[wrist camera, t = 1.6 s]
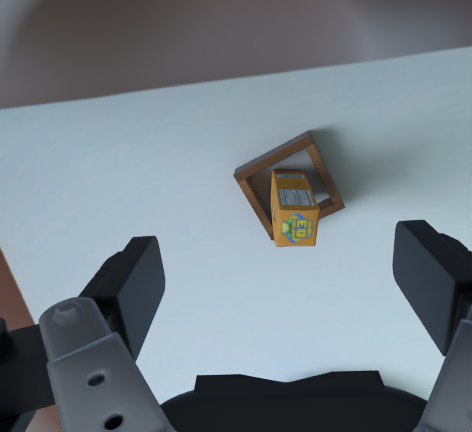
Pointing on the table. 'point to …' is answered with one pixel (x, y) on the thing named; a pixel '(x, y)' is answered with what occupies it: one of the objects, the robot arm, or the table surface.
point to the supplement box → (293, 209)
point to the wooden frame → (274, 156)
